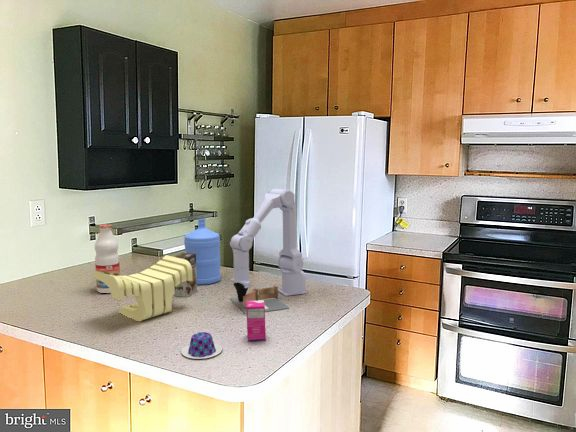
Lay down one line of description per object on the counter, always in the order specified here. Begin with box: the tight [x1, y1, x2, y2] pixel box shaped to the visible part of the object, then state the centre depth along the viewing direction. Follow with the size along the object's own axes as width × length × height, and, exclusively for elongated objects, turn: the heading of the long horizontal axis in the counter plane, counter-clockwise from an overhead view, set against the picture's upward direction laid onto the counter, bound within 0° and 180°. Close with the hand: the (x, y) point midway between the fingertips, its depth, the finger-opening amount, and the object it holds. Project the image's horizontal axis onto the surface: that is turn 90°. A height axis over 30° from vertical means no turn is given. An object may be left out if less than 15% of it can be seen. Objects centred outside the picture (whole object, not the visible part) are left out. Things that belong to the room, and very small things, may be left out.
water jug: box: [183, 218, 222, 286], centre depth 213 cm, size 16×16×28 cm
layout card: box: [230, 294, 290, 316], centre depth 183 cm, size 17×19×1 cm
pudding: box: [181, 331, 223, 360], centre depth 141 cm, size 12×12×5 cm
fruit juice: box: [94, 223, 121, 294], centre depth 198 cm, size 9×9×28 cm
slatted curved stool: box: [93, 254, 193, 322], centre depth 172 cm, size 30×16×18 cm, turn 140°
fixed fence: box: [252, 285, 279, 301], centre depth 188 cm, size 10×2×5 cm, turn 113°
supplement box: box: [246, 300, 267, 342], centre depth 150 cm, size 6×6×12 cm
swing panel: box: [243, 290, 256, 308], centre depth 181 cm, size 9×1×4 cm, turn 159°
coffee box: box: [173, 252, 198, 298], centre depth 195 cm, size 9×6×16 cm
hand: (241, 301), depth 180 cm, fingers closed
